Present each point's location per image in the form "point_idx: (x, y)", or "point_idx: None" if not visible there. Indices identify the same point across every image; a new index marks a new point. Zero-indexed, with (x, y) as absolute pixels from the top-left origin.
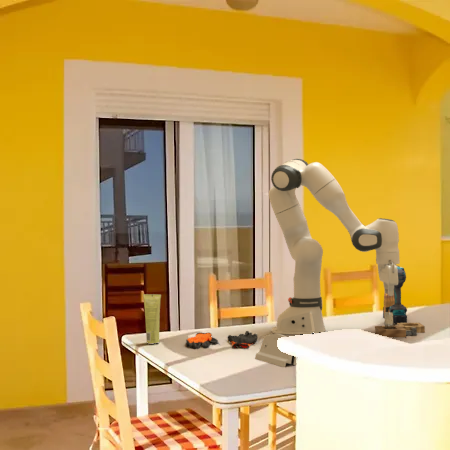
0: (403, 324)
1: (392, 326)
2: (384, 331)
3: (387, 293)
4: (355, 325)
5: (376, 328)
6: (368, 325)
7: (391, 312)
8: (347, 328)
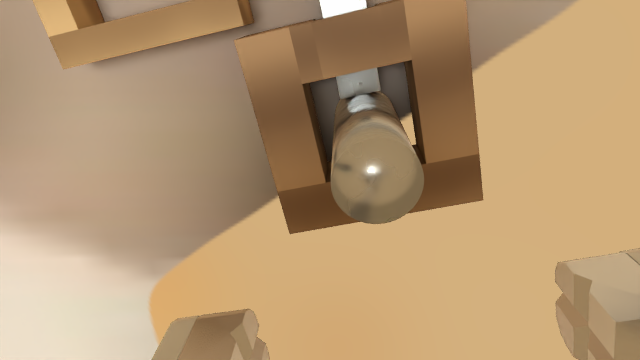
0: (75, 10)
1: (387, 108)
2: (478, 162)
3: (254, 339)
4: (39, 320)
5: (353, 219)
6: (11, 253)
7: (359, 152)
8: (152, 354)
